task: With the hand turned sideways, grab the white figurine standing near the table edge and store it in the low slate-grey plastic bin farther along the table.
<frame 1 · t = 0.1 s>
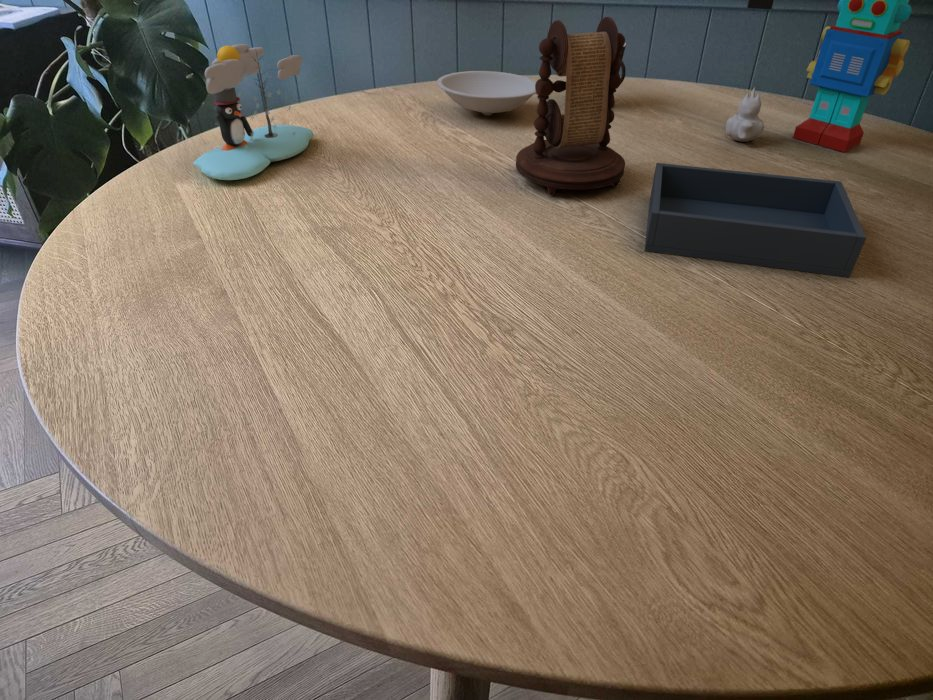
dish: (487, 114, 112), on the table
coffee mug: (593, 107, 116), on the table
white figurine: (740, 142, 103), on the table
bin: (740, 233, 78), on the table
penguin figurine: (259, 160, 96), on the table
scroll: (568, 178, 91), on the table
toy robot: (826, 141, 103), on the table
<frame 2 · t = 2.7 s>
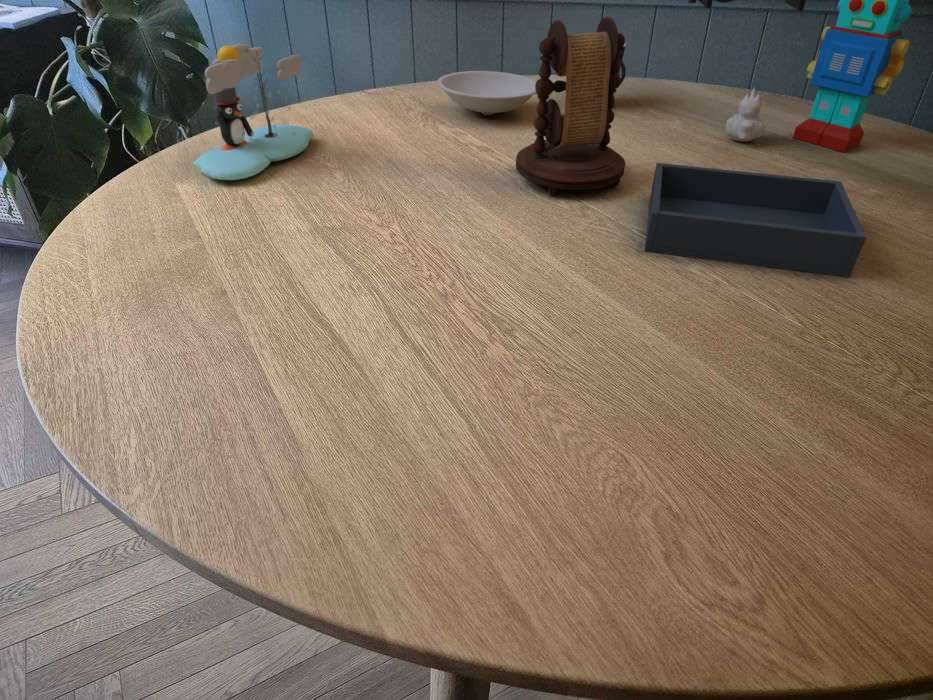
nothing on the table moved.
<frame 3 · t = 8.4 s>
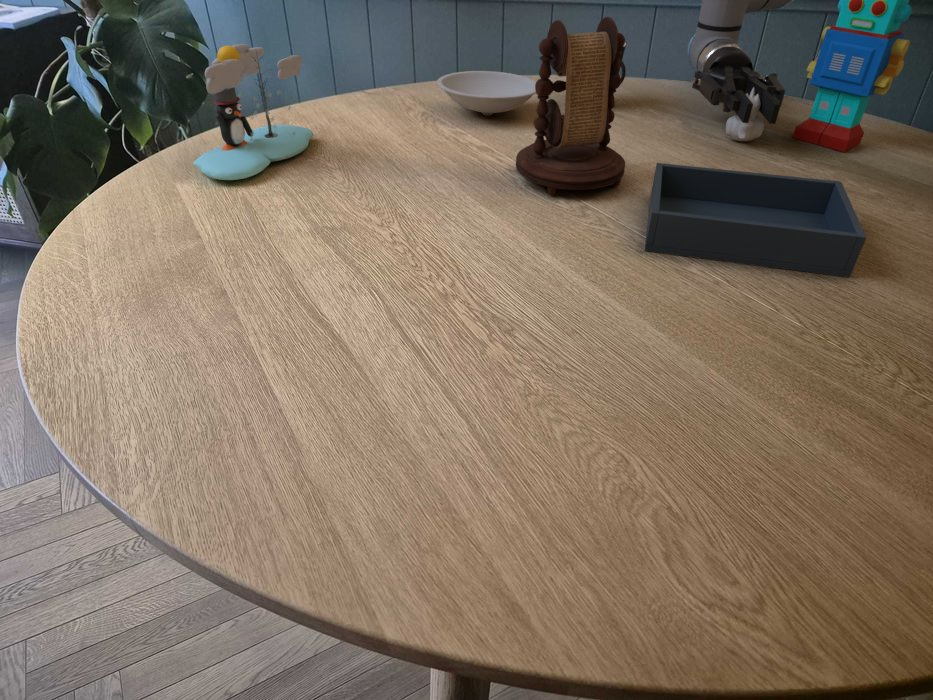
hand: (761, 113, 94), 6 cm above the table, tool horizontal, fingers closed on white figurine, 3 cm apart
white figurine: (740, 142, 103), on the table, touching gripper
everything else where it was.
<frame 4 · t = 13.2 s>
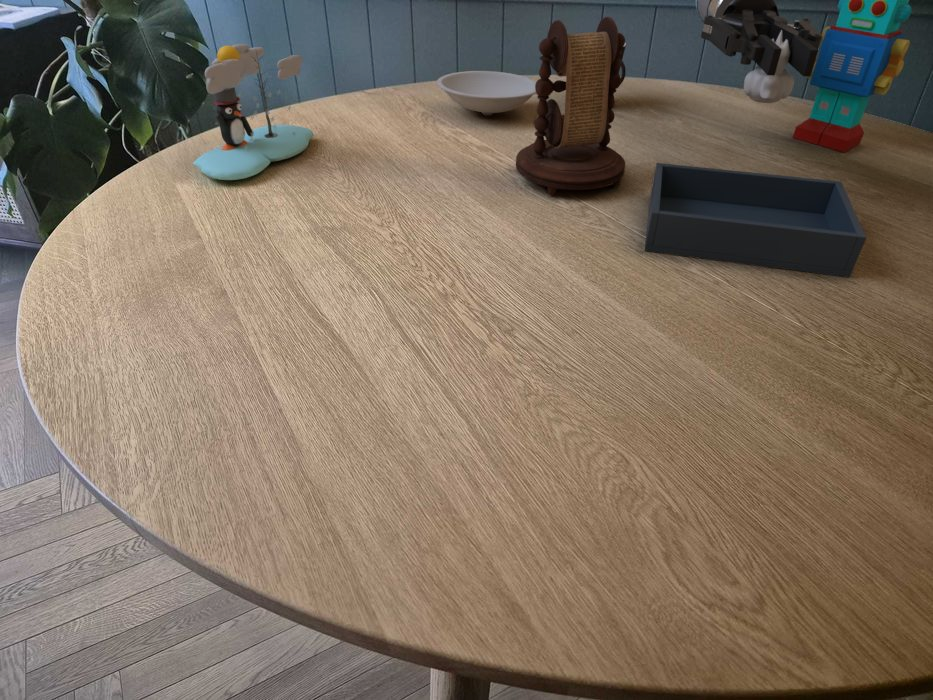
hand: (792, 62, 71), 18 cm above the table, tool horizontal, fingers closed on white figurine, 3 cm apart
white figurine: (763, 105, 80), point 12 cm above the table, touching gripper
everything else where it was.
when the fingers open (7 cm above the table, at t = 17.9 s): white figurine stays where it is, resting on bin.
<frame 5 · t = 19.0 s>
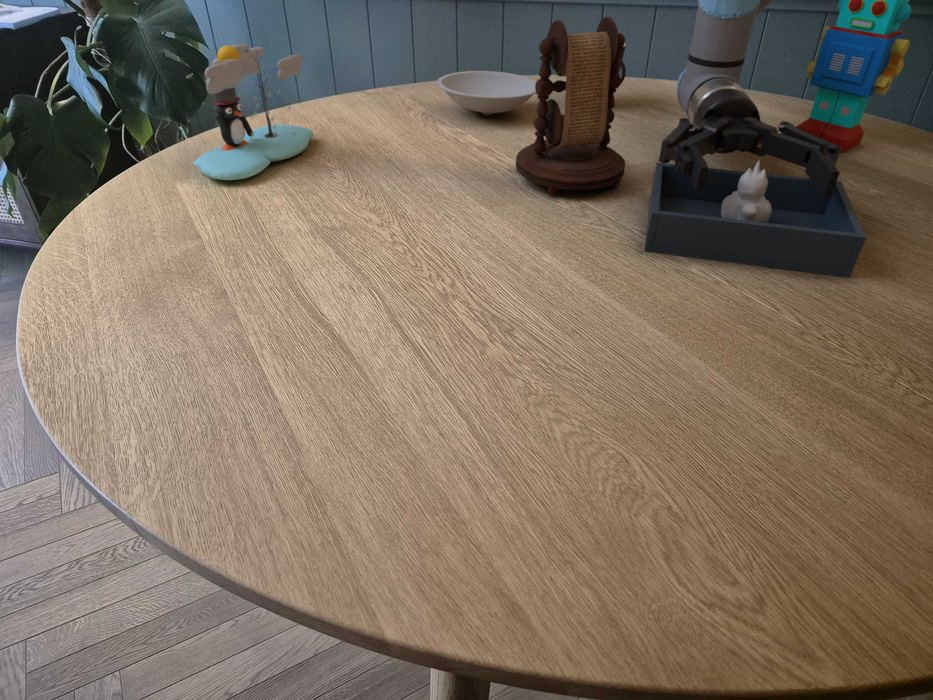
hand: (766, 182, 71), 8 cm above the table, tool horizontal, fingers open, 13 cm apart
white figurine: (740, 229, 78), point 1 cm above the table, touching bin
everything else where it was.
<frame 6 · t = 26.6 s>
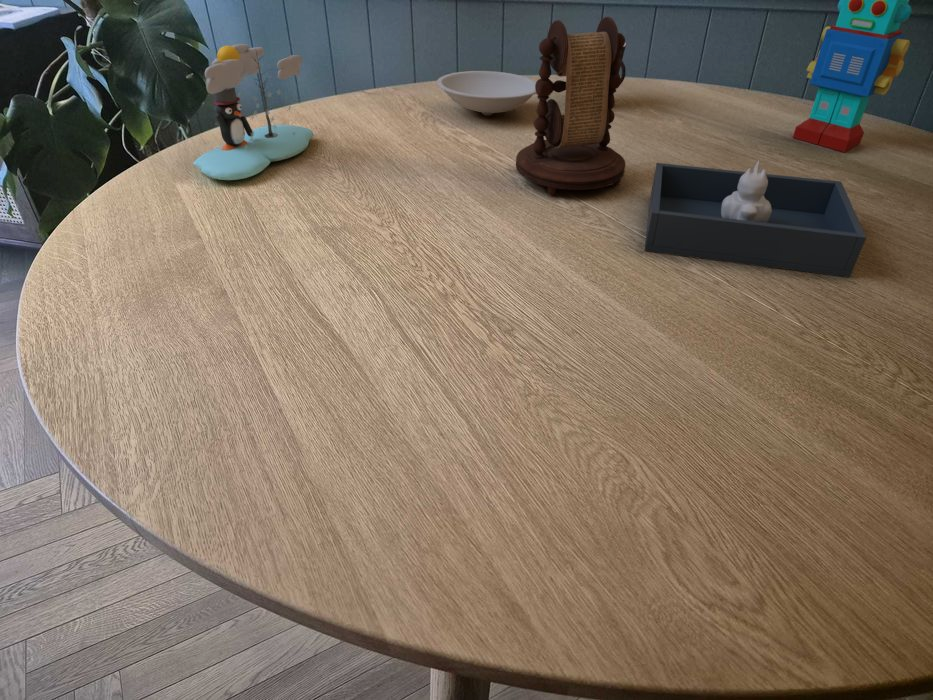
nothing on the table moved.
at the end: white figurine inside the target area in the bin (0.1 cm from its centre), point 0.6 cm above the bin's base; the gripper is holding nothing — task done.
